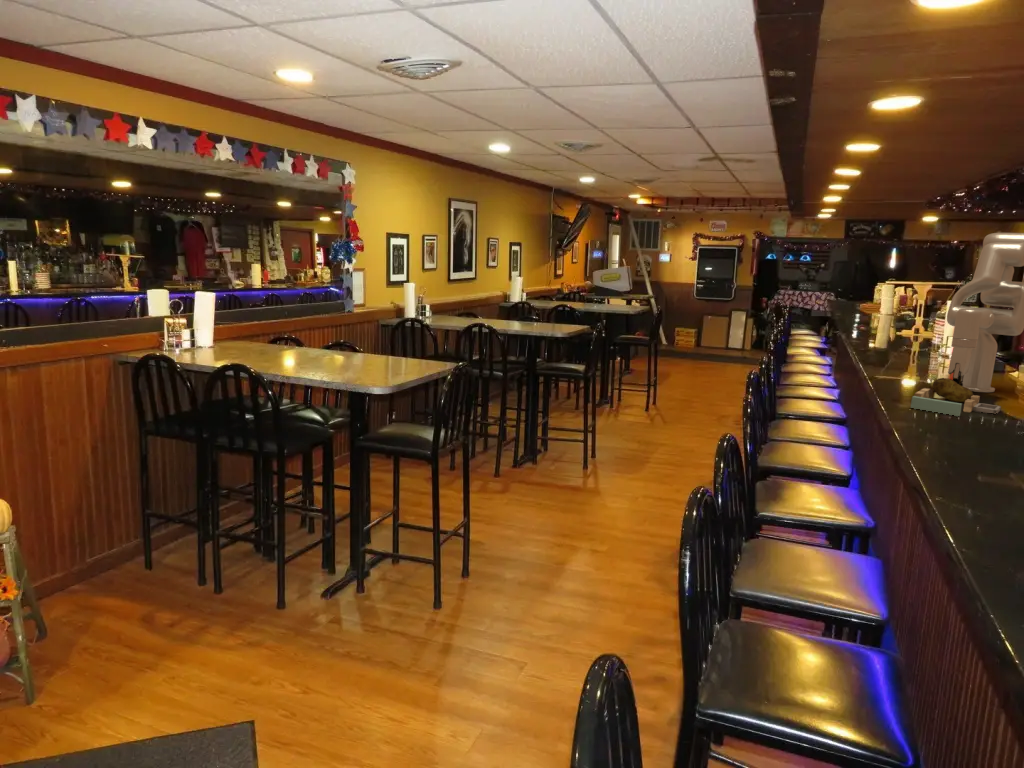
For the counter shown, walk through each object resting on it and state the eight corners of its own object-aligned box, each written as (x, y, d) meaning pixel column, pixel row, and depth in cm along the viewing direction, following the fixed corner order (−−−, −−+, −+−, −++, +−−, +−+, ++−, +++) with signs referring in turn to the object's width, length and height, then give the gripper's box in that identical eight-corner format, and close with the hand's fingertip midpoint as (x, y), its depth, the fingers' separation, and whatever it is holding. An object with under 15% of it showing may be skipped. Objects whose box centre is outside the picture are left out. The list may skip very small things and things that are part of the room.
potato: (974, 405, 241) (977, 383, 239) (931, 400, 246) (934, 378, 244) (970, 401, 248) (974, 379, 246) (929, 396, 253) (932, 374, 252)
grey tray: (978, 407, 238) (978, 402, 238) (1000, 410, 234) (1001, 406, 234) (972, 411, 232) (973, 406, 231) (995, 414, 228) (996, 410, 227)
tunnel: (922, 397, 251) (924, 387, 250) (978, 406, 240) (979, 396, 239) (913, 403, 241) (914, 393, 240) (970, 412, 230) (971, 402, 229)
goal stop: (911, 407, 234) (913, 396, 233) (959, 415, 225) (961, 403, 224) (910, 408, 233) (912, 396, 232) (958, 416, 224) (960, 404, 223)
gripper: (956, 340, 255) (948, 389, 259) (947, 343, 245) (939, 394, 248) (980, 343, 250) (971, 392, 254) (972, 346, 240) (963, 398, 243)
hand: (955, 393), depth 251 cm, fingers closed
